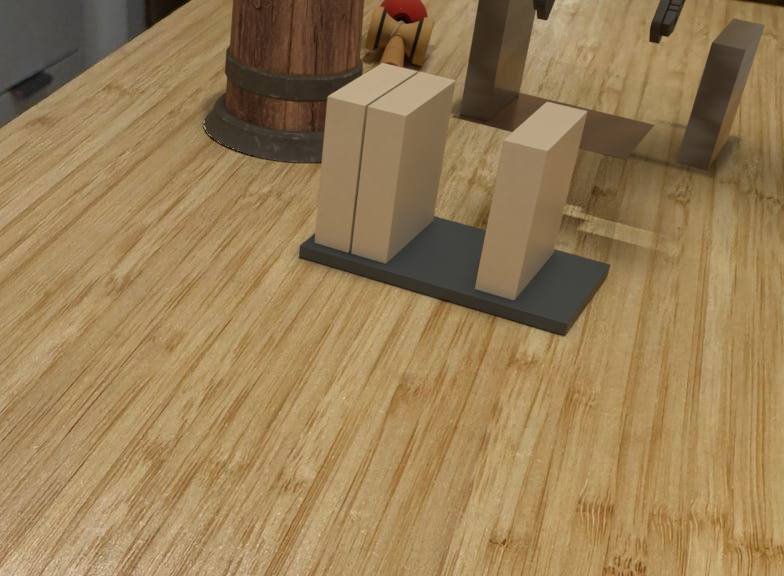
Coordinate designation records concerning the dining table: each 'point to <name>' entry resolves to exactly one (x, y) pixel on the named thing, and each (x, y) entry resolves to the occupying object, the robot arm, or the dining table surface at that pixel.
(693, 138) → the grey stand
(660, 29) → the robot arm
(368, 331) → the dining table surface
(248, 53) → the tankard
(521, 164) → the beige rectangular block
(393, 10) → the kendama
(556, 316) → the dark base with blocks
